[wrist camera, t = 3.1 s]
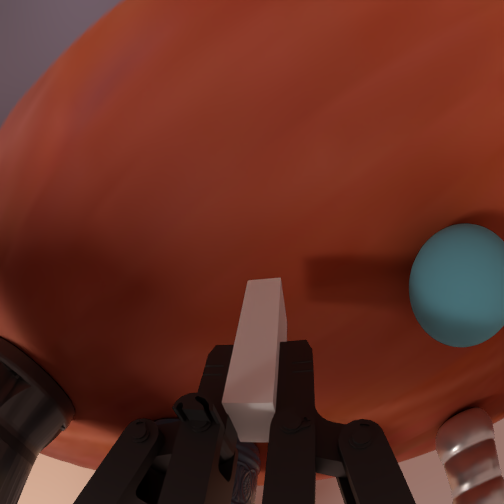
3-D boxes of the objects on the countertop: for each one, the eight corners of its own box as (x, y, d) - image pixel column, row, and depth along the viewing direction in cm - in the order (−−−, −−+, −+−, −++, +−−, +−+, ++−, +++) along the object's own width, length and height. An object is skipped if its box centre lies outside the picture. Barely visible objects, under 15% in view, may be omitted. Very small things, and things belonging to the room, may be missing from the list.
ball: (390, 305, 16) (420, 384, 11) (396, 209, 14) (449, 274, 8) (471, 291, 15) (514, 356, 10) (487, 202, 13) (553, 254, 7)
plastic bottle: (486, 411, 22) (521, 552, 5) (436, 439, 25) (458, 580, 7) (482, 391, 21) (526, 559, 3) (424, 423, 23) (449, 592, 5)
